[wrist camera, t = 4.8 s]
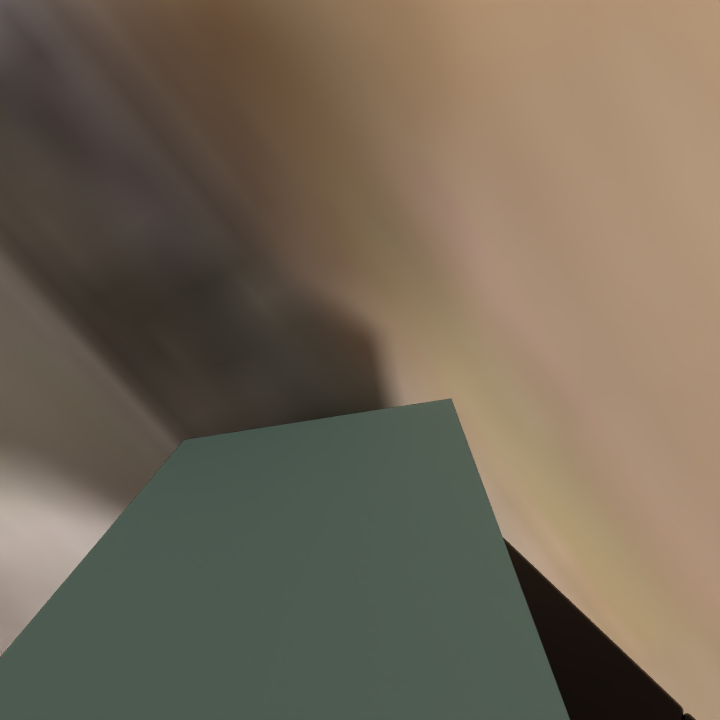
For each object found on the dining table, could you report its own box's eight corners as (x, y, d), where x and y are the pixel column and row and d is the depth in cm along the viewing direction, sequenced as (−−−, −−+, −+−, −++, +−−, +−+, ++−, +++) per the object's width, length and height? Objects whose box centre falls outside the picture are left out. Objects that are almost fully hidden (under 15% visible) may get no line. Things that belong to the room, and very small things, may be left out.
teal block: (451, 398, 8) (638, 906, 2) (480, 612, 9) (633, 1233, 4) (183, 440, 8) (-239, 940, 3) (254, 636, 10) (83, 1215, 4)
